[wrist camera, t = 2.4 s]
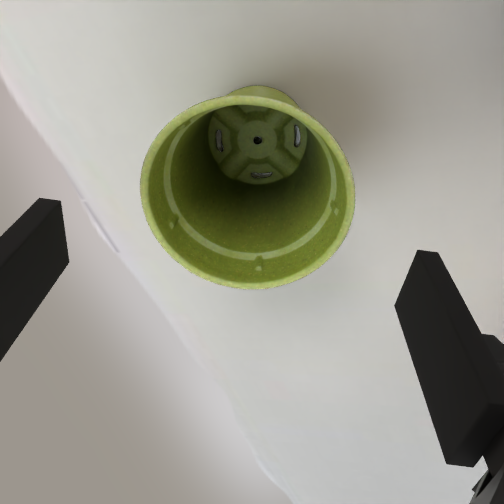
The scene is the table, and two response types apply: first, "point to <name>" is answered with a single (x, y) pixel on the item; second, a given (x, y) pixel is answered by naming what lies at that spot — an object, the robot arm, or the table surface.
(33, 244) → the robot arm
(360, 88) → the table surface
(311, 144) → the plant pot
